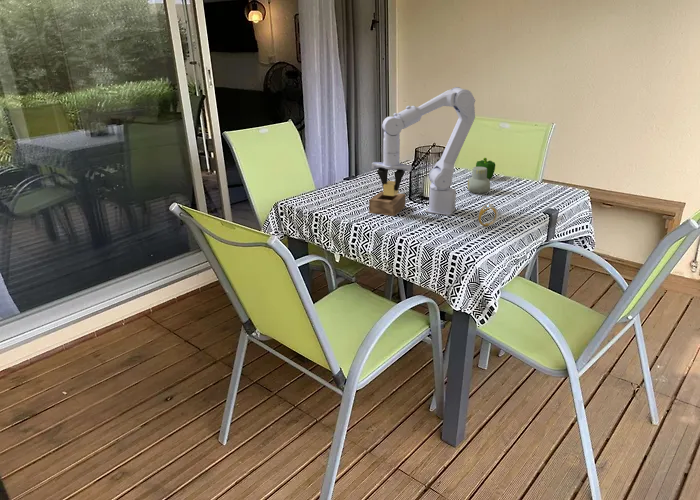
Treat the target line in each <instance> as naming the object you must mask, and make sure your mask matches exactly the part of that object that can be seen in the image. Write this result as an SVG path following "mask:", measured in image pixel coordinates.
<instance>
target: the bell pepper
mask: <svg viewBox="0 0 700 500" xmlns="http://www.w3.org/2000/svg"><path fill="white" fill-rule="evenodd" d="M475 167H485V168H487V178H488V179H489V180H491V179H492V178H493V176H494V174H495V170H496V163H495V162H494V161H492V160H488V159H487V157H484V158H483V159H482V160H479V161H476V163H475Z"/></svg>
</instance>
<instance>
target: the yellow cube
mask: <svg viewBox="0 0 700 500" xmlns="http://www.w3.org/2000/svg"><path fill="white" fill-rule="evenodd" d="M399 190H400V189H399ZM399 190H397V191H395V180H387V182H386V183H384V184H383V185H382V192H383V195H388V196H395V195H396V194H397V193H400V192H399Z"/></svg>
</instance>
